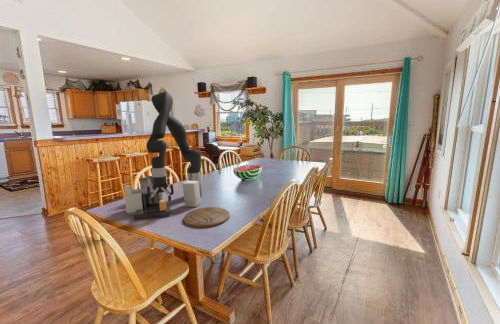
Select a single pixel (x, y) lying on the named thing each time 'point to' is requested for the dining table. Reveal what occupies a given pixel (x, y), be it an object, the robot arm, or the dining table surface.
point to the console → (151, 213)
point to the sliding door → (132, 200)
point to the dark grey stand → (147, 198)
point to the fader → (162, 205)
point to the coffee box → (146, 182)
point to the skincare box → (191, 193)
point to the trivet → (206, 217)
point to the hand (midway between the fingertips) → (161, 202)
